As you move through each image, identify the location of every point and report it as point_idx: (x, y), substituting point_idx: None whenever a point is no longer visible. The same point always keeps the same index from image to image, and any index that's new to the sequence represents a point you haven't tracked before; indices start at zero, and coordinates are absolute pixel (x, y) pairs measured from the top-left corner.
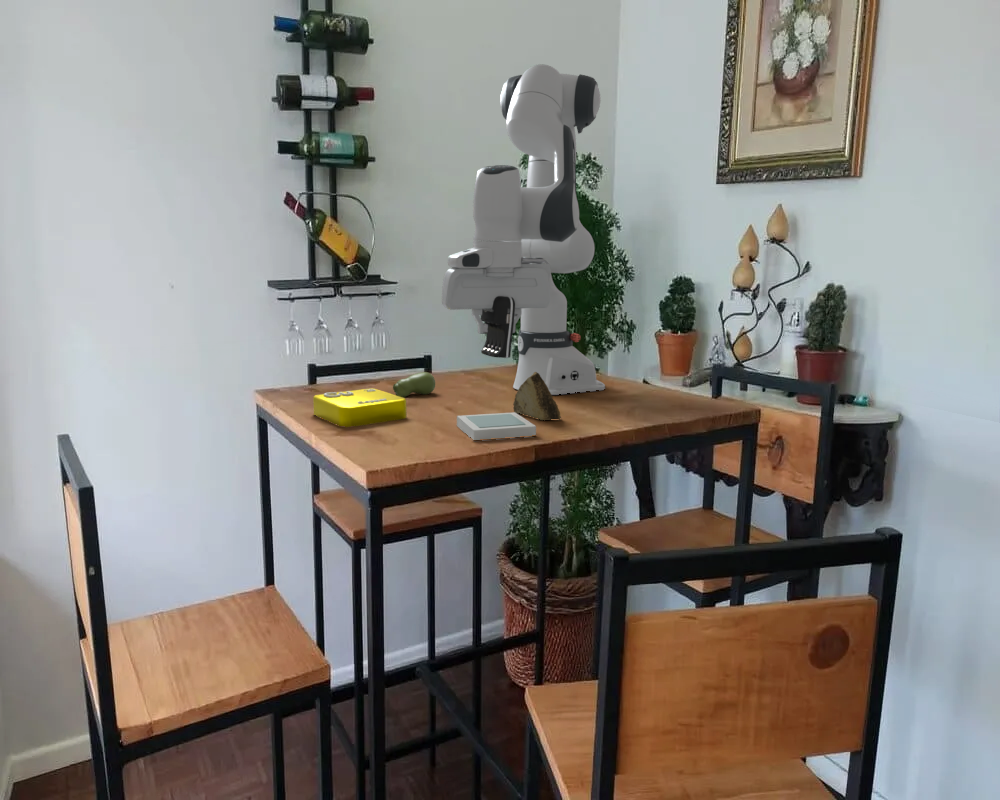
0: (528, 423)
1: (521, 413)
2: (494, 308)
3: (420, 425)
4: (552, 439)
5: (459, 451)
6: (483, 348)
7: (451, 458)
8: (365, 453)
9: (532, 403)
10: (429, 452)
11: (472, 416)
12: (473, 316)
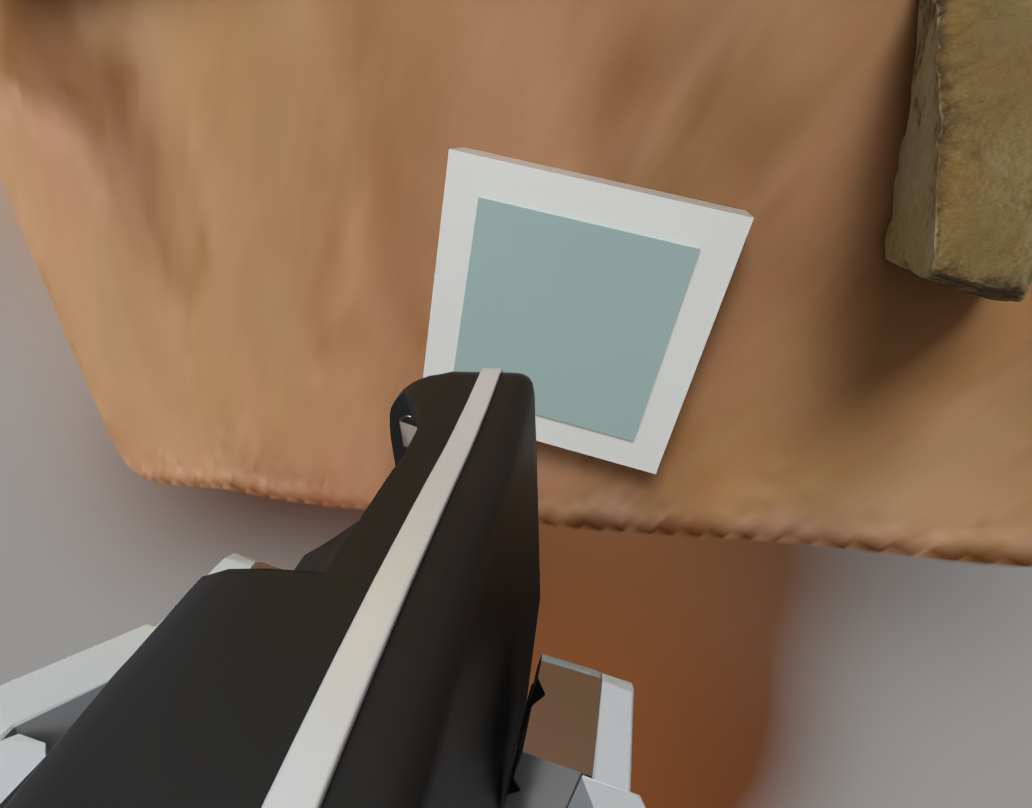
0: (657, 429)
1: (916, 56)
2: None
3: (320, 52)
4: (683, 503)
5: (356, 458)
6: (410, 406)
7: (318, 496)
8: (114, 344)
9: (906, 205)
10: (277, 424)
11: (503, 214)
12: (11, 706)
